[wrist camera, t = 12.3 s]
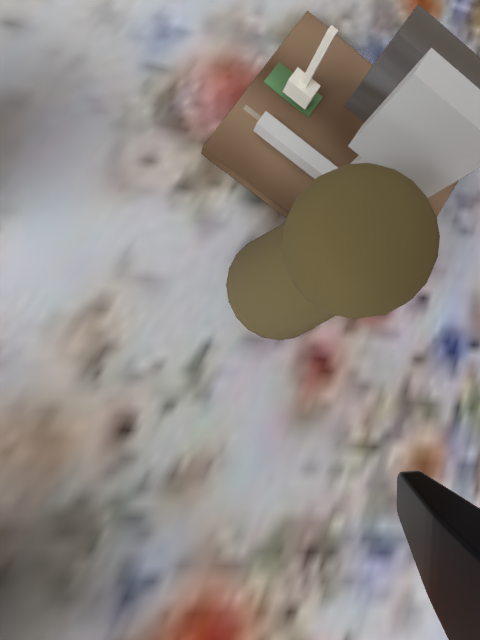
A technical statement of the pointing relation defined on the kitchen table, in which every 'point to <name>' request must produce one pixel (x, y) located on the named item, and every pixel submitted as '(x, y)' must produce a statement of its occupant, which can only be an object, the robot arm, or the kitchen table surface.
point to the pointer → (308, 74)
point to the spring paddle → (406, 129)
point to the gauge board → (325, 104)
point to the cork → (337, 253)
